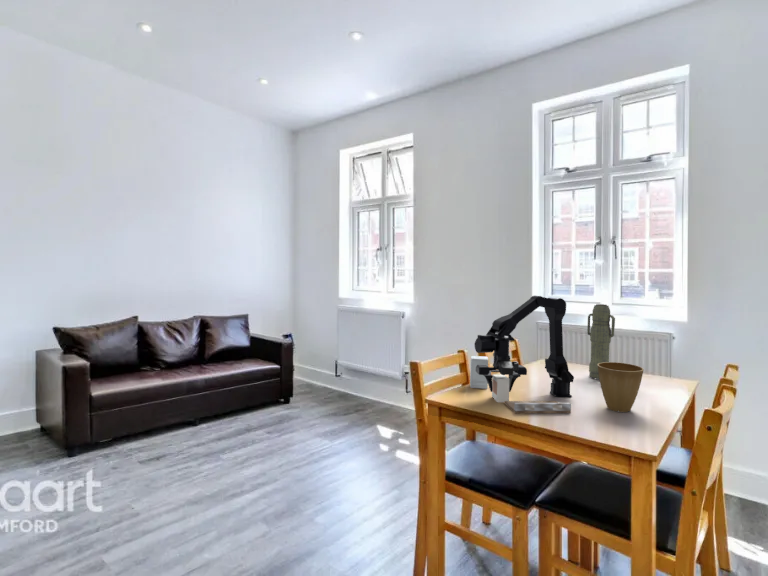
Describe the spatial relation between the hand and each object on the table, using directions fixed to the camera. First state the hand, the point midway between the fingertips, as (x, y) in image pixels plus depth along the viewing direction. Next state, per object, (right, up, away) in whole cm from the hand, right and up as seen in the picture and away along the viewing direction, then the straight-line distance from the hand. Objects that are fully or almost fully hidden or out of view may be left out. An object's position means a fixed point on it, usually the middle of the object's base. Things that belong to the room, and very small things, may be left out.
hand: (500, 391), depth 174 cm
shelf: (+11, -4, -10) cm, 15 cm away
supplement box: (-4, -3, +20) cm, 20 cm away
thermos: (+58, -3, +40) cm, 70 cm away
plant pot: (+41, -4, -10) cm, 42 cm away
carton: (0, -3, 0) cm, 3 cm away
